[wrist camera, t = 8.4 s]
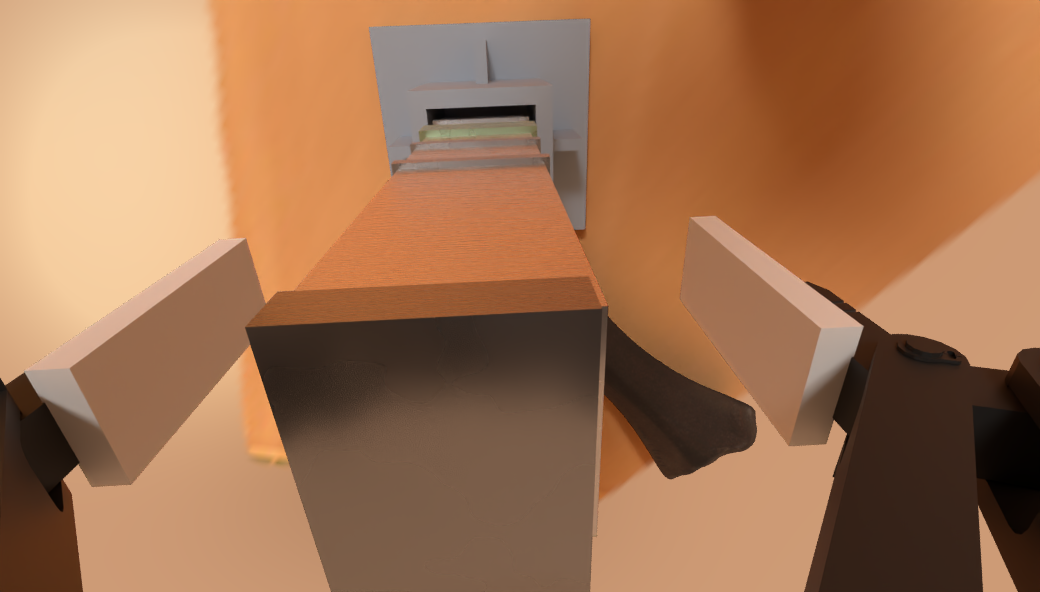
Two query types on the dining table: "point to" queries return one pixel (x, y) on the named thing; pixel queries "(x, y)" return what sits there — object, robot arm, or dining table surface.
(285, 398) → the column
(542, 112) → the stand base
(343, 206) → the dining table surface
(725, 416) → the dark brown bone
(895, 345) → the robot arm
